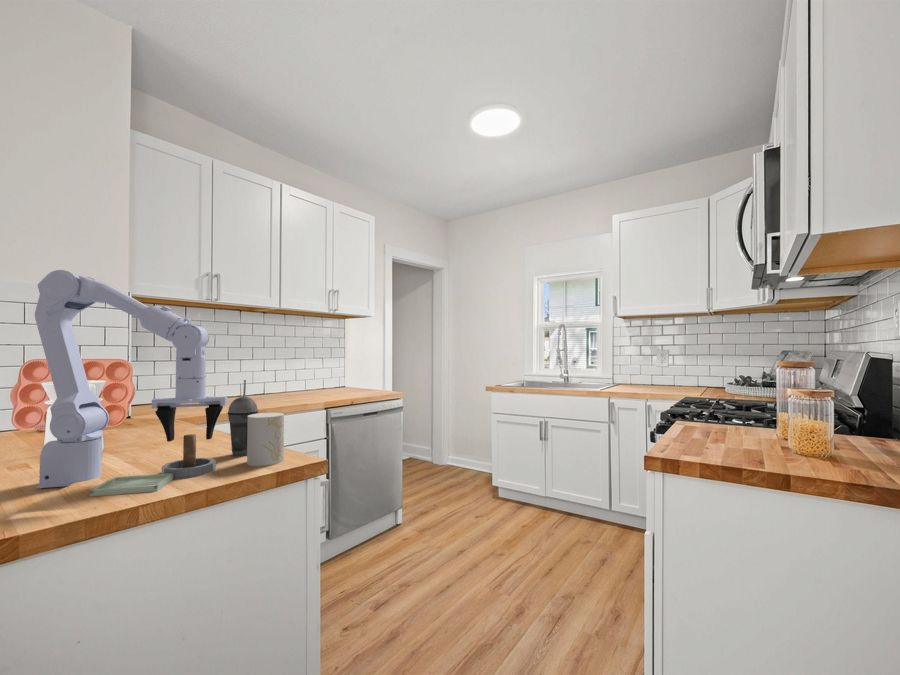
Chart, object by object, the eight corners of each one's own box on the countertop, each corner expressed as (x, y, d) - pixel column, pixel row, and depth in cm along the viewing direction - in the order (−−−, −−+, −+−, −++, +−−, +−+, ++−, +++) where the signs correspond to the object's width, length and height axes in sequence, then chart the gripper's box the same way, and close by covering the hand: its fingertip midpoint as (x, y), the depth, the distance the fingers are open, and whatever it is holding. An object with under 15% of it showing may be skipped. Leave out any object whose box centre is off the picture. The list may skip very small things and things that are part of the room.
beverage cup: (252, 452, 118) (253, 378, 119) (262, 457, 113) (262, 379, 113) (223, 457, 113) (224, 379, 114) (231, 462, 108) (232, 381, 109)
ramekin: (154, 483, 90) (154, 470, 90) (171, 471, 100) (172, 459, 100) (207, 479, 93) (208, 467, 93) (219, 467, 103) (220, 456, 103)
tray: (89, 500, 80) (89, 490, 80) (113, 485, 89) (113, 477, 89) (157, 495, 83) (157, 485, 83) (174, 481, 92) (174, 472, 92)
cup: (270, 470, 100) (271, 417, 101) (239, 468, 102) (239, 417, 102) (290, 461, 108) (290, 413, 109) (261, 460, 110) (261, 412, 110)
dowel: (181, 473, 95) (181, 436, 95) (185, 470, 97) (185, 434, 98) (193, 472, 96) (194, 435, 96) (197, 469, 98) (197, 433, 98)
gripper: (145, 380, 91) (145, 445, 91) (222, 378, 95) (221, 441, 95) (159, 378, 98) (158, 438, 98) (229, 376, 102) (229, 435, 102)
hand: (190, 439), depth 97 cm, fingers open, 7 cm apart
